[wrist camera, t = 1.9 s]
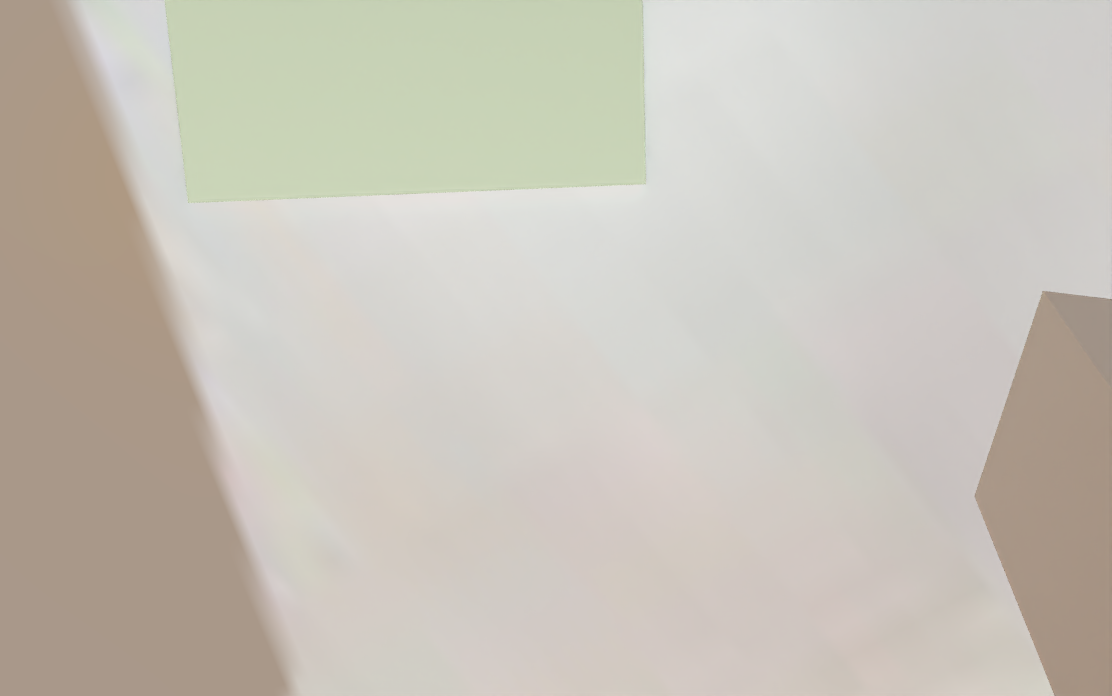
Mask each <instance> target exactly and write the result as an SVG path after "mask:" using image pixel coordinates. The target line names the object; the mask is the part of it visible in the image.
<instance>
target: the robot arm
mask: <svg viewBox="0 0 1112 696" xmlns="http://www.w3.org/2000/svg"><path fill="white" fill-rule="evenodd" d="M975 499H976V501H977V504H978V506H979V509H980V511H981V514H982V516H983V519H984V521H985V524H986V526H987V529H988V531H989V534H990V536H991V539H992V541H993V544H994V546H995V548H996V551H997V553H998V556H999V558H1000V561H1001V563H1002V566H1003V568H1004V571H1005V573H1006V576H1007V578H1008V581H1009V583H1010V586H1011V588H1012V591H1013V593H1014V596H1015V598H1016V601H1017V603H1018V606H1019V608H1020V611H1021V613H1022V616H1023V618H1024V621H1025V623H1026V626H1027V628H1028V630H1029V633H1030V635H1031V638H1032V640H1033V643H1034V645H1035V648H1036V650H1037V653H1038V655H1039V658H1040V660H1041V663H1042V665H1043V668H1044V670H1045V673H1046V675H1047V678H1048V680H1049V683H1050V685H1051V688H1052V690H1053V693H1054V695H1055V696H1112V299H1106V298H1097V297H1089V296H1080V295H1072V294H1064V293H1055V292H1047V291H1043V292H1042V295H1041V298H1040V301H1039V304H1038V307H1037V310H1036V313H1035V316H1034V319H1033V322H1032V325H1031V328H1030V331H1029V334H1028V337H1027V340H1026V343H1025V346H1024V349H1023V352H1022V355H1021V358H1020V361H1019V364H1018V367H1017V370H1016V373H1015V376H1014V379H1013V382H1012V385H1011V388H1010V391H1009V394H1008V397H1007V400H1006V403H1005V406H1004V409H1003V412H1002V415H1001V418H1000V421H999V424H998V427H997V430H996V433H995V436H994V439H993V442H992V445H991V448H990V451H989V454H988V457H987V460H986V463H985V466H984V469H983V472H982V475H981V478H980V481H979V484H978V487H977V490H976V493H975Z"/></svg>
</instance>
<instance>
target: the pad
mask: <svg viewBox="0 0 1112 696" xmlns="http://www.w3.org/2000/svg"><path fill="white" fill-rule="evenodd" d="M165 8H166V17H167V25H168V34H169V42H170V51H171V60H172V68H173V77H174V85H175V94H176V103H177V111H178V120H179V128H180V137H181V146H182V154H183V163H184V171H185V180H186V188H187V197H188V203H200V202H224V201H249V200H273V199H297V198H321V197H346V196H370V195H394V194H418V193H442V192H467V191H491V190H515V189H539V188H563V187H588V186H612V185H636V184H646V170H645V114H644V57H643V1H642V0H165Z"/></svg>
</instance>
